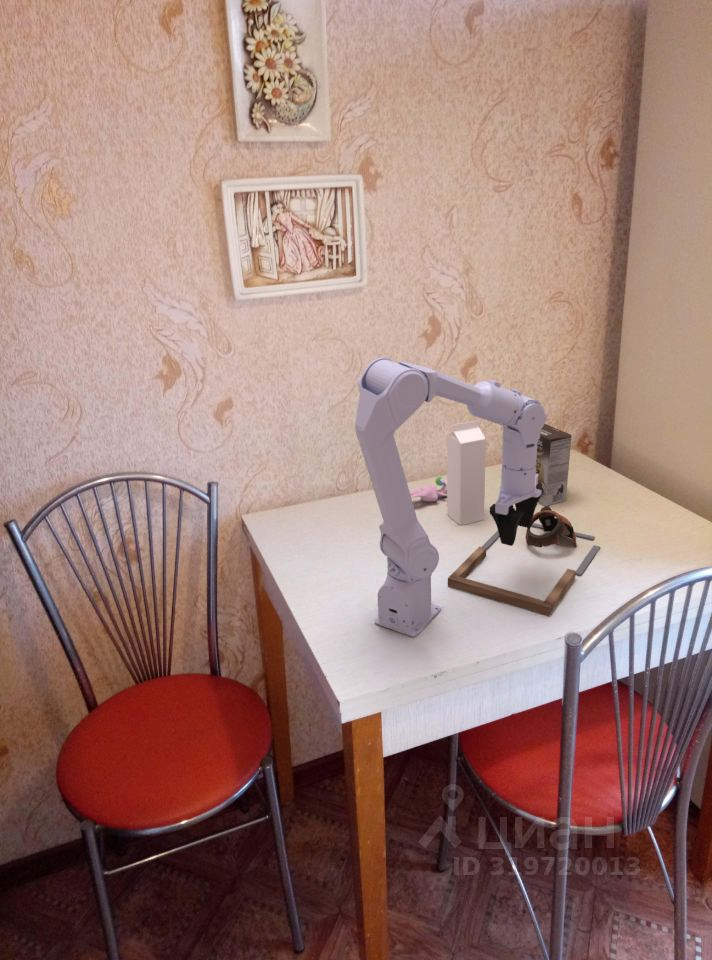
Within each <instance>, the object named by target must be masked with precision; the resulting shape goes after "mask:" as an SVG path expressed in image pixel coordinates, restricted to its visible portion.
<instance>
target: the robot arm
mask: <svg viewBox="0 0 712 960" xmlns="http://www.w3.org/2000/svg"><path fill="white" fill-rule="evenodd" d="M501 384H502V383H501V382H498V381H496V380H493V379H489V381H486V380H485V381H484V380H483V381H479V382H477V383H476V384H474V385H472V384H470V383H467V382H465V381H461V380H459V379H456V378H454V377H452V376H450V375H447V374H444V373H442V372H439V371H438V370H434V369H432V368H429V367H426V366H421V365H417V364H414V363H409V362H405V361H397V362H395V361H394V360H392V359H390V358H387V357H379V358H376V359H374V360H372V361H371V362H370V363H368V365H367V366H366V367H365V369H364V371H363V372H362V374H361V376H360V377H359V379H358V381H357V386H358V387H357V388H358V391H359V398H358V404H357V409H356V414H355V415H356V417H355V423H354V429H355V434H356V438H357V440H358V444H359V446H360V447H359V448H360V449H361V453H362V456H363V460H364V462H365V466H366V468H367V469H366V470H367V473H368V475H369V479H370V482H371V485H372V488H373V491H374V494H375V498H376V502H377V505H378V508H379V511H380V515H381V518H382V520H383V521H382V522H381V523H380V524H379V530H380V539H379V548H380V551H381V553H382V554H383V555H384V556H386V562H387V563H386V564H387V571H386V572H387V573H386V574H387V575H386V578H385V581H384V583H383V584H382V586H381V587H380V588H379V589H378V592H377V609H378V610H377V611H378V613H377V614H378V617H376V618H375V619H374V624H375V625H379V626H381V627H383V628H387V629H390V630H393V631H395V632H398V633H401V634H404V635H407V636H410V637H414V638H415V637H416V636H418V635H419V634H420V633H421V631H422V630H424V628H426V626H427V625H428V624H429V623H430V622H431V621H432V619H434V617H435V616H436V615H438V613H439V612H440V611H441V610H442V607H441V606H440V605H437V604H434V603H432V575H433V573H434V572H435V570H436V569H437V567H438V565H439V561H440V554H439V551H438V549H437V548H436V546H434V545H433V543H431V541H430V538H429V535H428V533H427V532H426V530H425V529H424V528H423V526H422V524H420V522H419V520H418V518H417V514H416V510H415V506H414V503H413V500H412V499H413V498H411V496H412V495H411V496H410V492H409V490H410V489H409V485H408V481H407V478H406V475H405V471H404V467H403V464H402V461H401V457H400V453H399V450H398V446H397V443H396V439H395V436H394V435H395V432H396V431H397V430H399V428H400V427H401V426H402V425H403V424H404V423H405V422H407V420H408V419H410V418H411V417H412V415H413V414H415V413H416V412H417V411H418V410H419V409H420V408H421V406H422V405H423V404H424V402H426V403H427V404H428V403H431V402H432V400H433V399H434V398H435V397H436V396H437V397H439V398H444V399H447V400H450V401H454V402H457V403H460V404H464V405H466V407H467V409H468V412H469V414H470V415H472V416H473V417H476V418H479V419H481V420H485V421H489V422H491V423H494V424H497V425H500V426H502V443H501V444H502V446H501V447H502V448H501V449H502V452H501V454H502V455H501V475H500V486H499V490H498V491H499V492H498V498H497V500H496V502H495V503H492V505H490V507H489V514H490V515H491V517H492V519H493V521H494V522H495V524H496V528H497V531H498V532H499V536H500V537H499V540H500V543H501V544H503V545H506V546H510V547H512V546H514V544H515V541H516V537H517V531H518V527H522V528H526V529H527V528H529V527H530V525H531V522H532V518H533V515H534V514H535V511H536V508H537V505H538V504H539V502H538V501H539V499H540V498H541V496H542V495H543V493H544V490H543V489H542V488H537V487H536V485H537V484H538V474H536V458H537V442H538V439H540V432H541V429H542V428H543V426H544V424H546V422H547V417H548V414H547V413H546V412H545V408H544V406H543V405H542V403H541V402H540V401H539V400H537V399H534V398H531V397H528V396H525V395H522V391H519V390H517V389H515V388H513V389H512V390H510V389H507V388H504V387H502V386H501ZM514 505H515V507H514Z"/></svg>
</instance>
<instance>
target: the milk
mask: <svg viewBox="0 0 712 960" xmlns="http://www.w3.org/2000/svg"><path fill="white" fill-rule="evenodd" d="M486 439H487V438H486V436H485V434H484V433H483V432H482V430H481V428H480V421H479V420H473V421H467V422H460V423H455V424H454V425H453V431H452V432H450V433H449V434H447V435H446V481H447V483H446V484H447V496H446V499H447V500H446V507H447V509H446V512H447V513H446V515H447V516H448V517H449V518H451V519H452V520H453V521H454V522H456V524H458V525H459V526H464V525H467V524H471V523H472V524H473V523H476V522H481V521H484V520H485V497H486V496H485V495H486V494H485V491H486V484H485V483H486V447H487V446H486V445H487V443H486V442H487V440H486Z"/></svg>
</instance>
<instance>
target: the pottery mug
mask: <svg viewBox="0 0 712 960" xmlns="http://www.w3.org/2000/svg"><path fill="white" fill-rule="evenodd" d="M537 520H538V521H539V522H540V523H539V524H541V525H542V526H543V529H544V530H543V529H542V530H543V531H544V532H545V533H544V534H535V533H533V532H532V531H531V528H532V527H531V526H532V524H533V523H536V522H537ZM574 532H575V529H574V527H573V526H572V523H571V522H570V520H569V519H567V517H565V516H563V515H562V514H559V513H558V512H556V511H555V510H552V508H551V506H550V505H548V506H543V507H541V509H540V510H539V511H538V512H535V513H534V515H533V518H532V522H531V525H530V527H529V528H526V531H525V543H526V545H527V547H528V546H529V547H530V546H532V547H535V548H536V547H537V548H545V547H549V546H552V545H555V546H560V542H559V541H560V539H559V537H564V538H565V537H566V538H569V539H571V540H572V542H573V546H574V548H576V547H577V537H576V536H575V533H574Z"/></svg>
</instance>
